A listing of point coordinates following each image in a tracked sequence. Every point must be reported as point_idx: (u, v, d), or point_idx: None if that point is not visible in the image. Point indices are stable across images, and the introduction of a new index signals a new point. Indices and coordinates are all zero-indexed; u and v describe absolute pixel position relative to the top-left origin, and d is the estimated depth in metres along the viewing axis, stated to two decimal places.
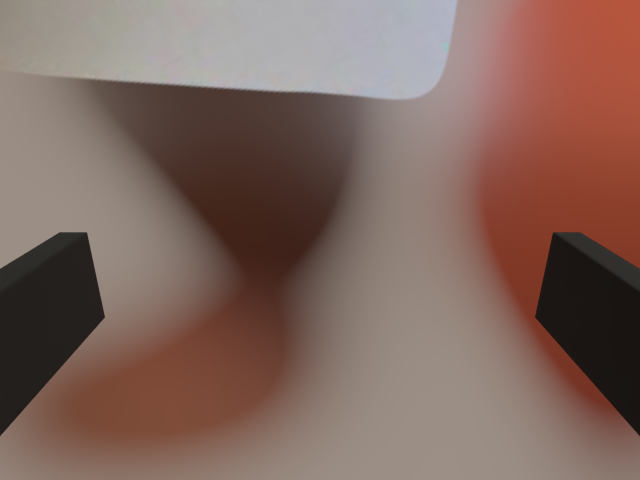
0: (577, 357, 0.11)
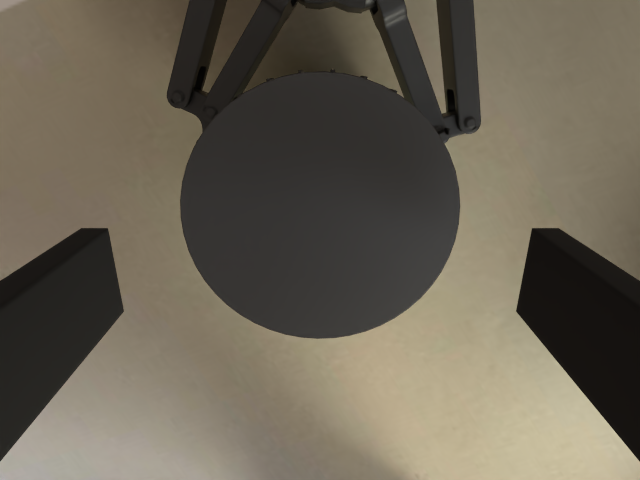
0: (554, 349, 0.11)
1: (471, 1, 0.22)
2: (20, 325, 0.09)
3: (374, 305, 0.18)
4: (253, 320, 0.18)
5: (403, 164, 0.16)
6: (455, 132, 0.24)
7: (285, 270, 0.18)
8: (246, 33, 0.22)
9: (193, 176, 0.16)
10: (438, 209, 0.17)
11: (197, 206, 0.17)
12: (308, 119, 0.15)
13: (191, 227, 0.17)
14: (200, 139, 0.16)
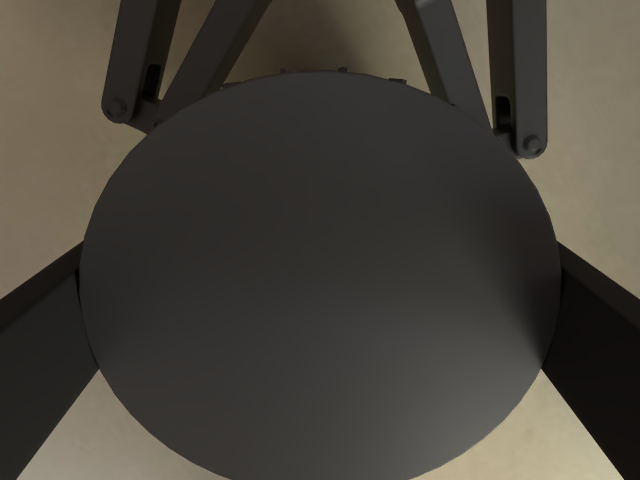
0: None
1: None
2: (59, 315, 0.09)
3: (408, 449, 0.11)
4: (213, 469, 0.12)
5: (467, 235, 0.09)
6: None
7: (262, 399, 0.11)
8: (212, 15, 0.15)
9: (98, 254, 0.09)
10: (523, 307, 0.10)
11: (109, 303, 0.10)
12: (299, 158, 0.08)
13: (101, 335, 0.10)
14: (105, 192, 0.09)
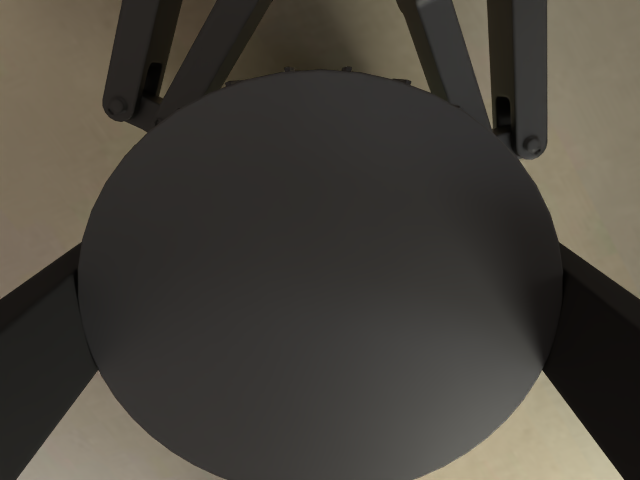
0: None
1: None
2: (58, 315, 0.09)
3: (486, 207, 0.09)
4: (518, 401, 0.11)
5: (190, 211, 0.09)
6: None
7: (417, 366, 0.10)
8: (214, 14, 0.15)
9: None
10: (259, 125, 0.08)
11: (324, 478, 0.12)
12: (161, 362, 0.10)
13: None
14: (229, 478, 0.12)
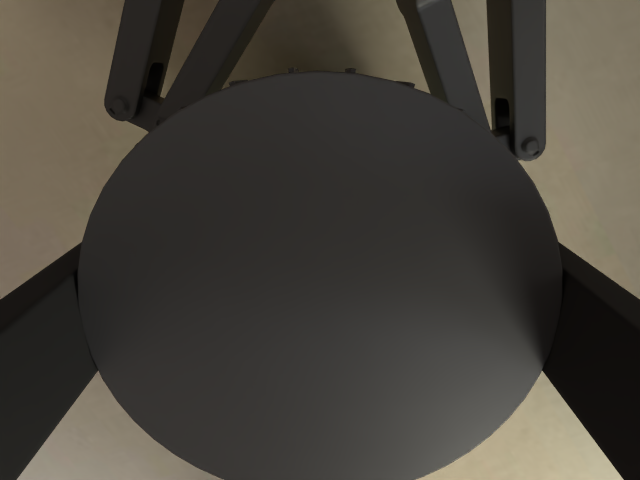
0: None
1: None
2: (59, 315, 0.09)
3: (157, 203, 0.09)
4: (397, 87, 0.08)
5: (228, 429, 0.11)
6: None
7: (355, 226, 0.09)
8: (216, 15, 0.15)
9: (539, 339, 0.10)
10: (145, 390, 0.10)
11: (532, 296, 0.10)
12: (378, 445, 0.11)
13: (543, 257, 0.09)
14: (528, 387, 0.10)
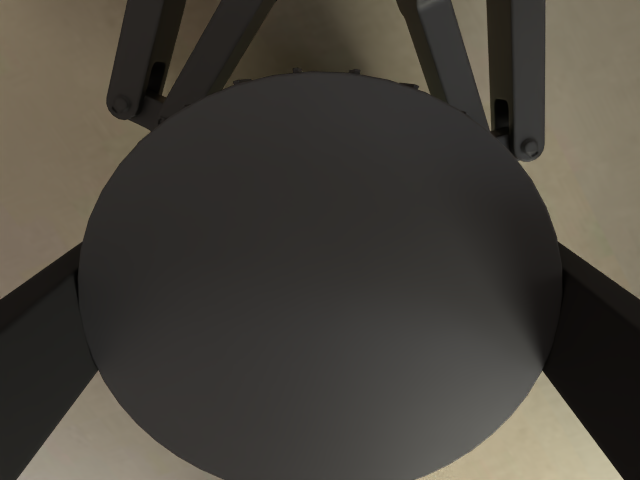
0: None
1: None
2: (59, 314, 0.09)
3: (226, 449, 0.11)
4: (81, 301, 0.10)
5: (456, 393, 0.10)
6: None
7: (207, 313, 0.10)
8: (218, 15, 0.15)
9: (296, 93, 0.08)
10: (411, 456, 0.11)
11: (241, 122, 0.08)
12: (476, 246, 0.09)
13: (193, 126, 0.08)
14: (372, 80, 0.08)
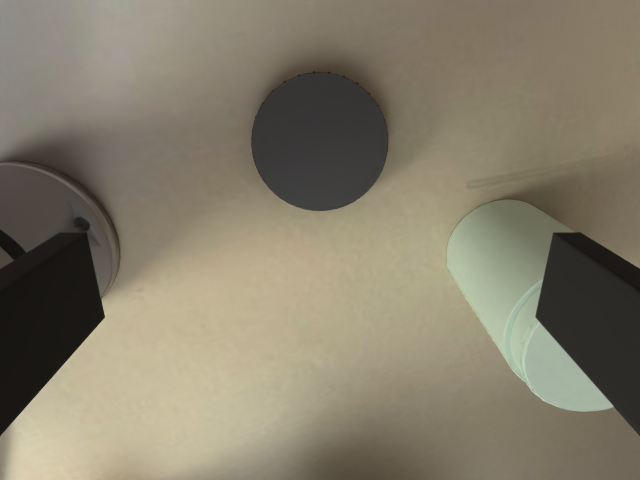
0: (577, 357, 0.11)
1: None
2: None
3: (290, 190, 0.36)
4: (252, 137, 0.34)
5: (360, 168, 0.35)
6: None
7: (287, 141, 0.34)
8: None
9: (314, 77, 0.32)
10: (348, 193, 0.36)
11: (300, 85, 0.33)
12: (361, 119, 0.34)
13: (288, 86, 0.33)
14: (332, 74, 0.32)
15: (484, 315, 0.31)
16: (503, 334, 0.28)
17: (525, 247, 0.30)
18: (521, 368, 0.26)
